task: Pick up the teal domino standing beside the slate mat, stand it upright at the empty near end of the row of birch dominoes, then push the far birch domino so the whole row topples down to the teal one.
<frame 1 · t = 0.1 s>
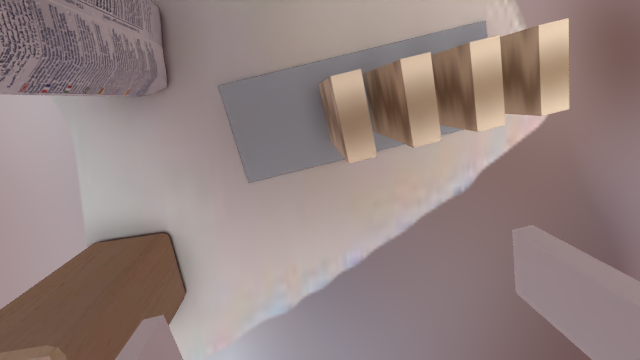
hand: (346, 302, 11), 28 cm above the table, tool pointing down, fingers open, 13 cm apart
wooden block: (143, 268, 40), on the table
tile 3: (378, 101, 36), resting on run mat
tile 4: (334, 111, 36), resting on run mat
juice carton: (132, 48, 34), on the table
tile 2: (422, 90, 37), resting on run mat
tile 1: (466, 79, 37), resting on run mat
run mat: (361, 104, 37), on the table
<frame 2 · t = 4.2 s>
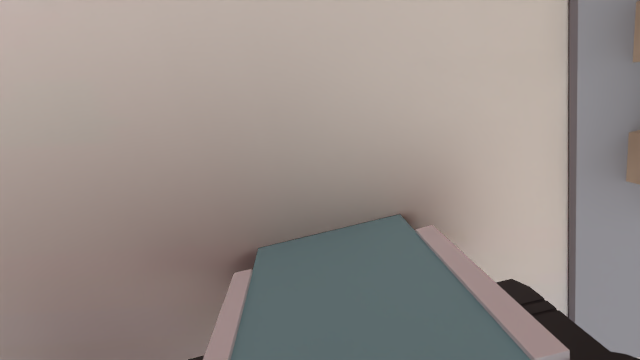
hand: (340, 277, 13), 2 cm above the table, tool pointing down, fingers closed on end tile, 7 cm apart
end tile: (334, 252, 15), on the table, touching gripper
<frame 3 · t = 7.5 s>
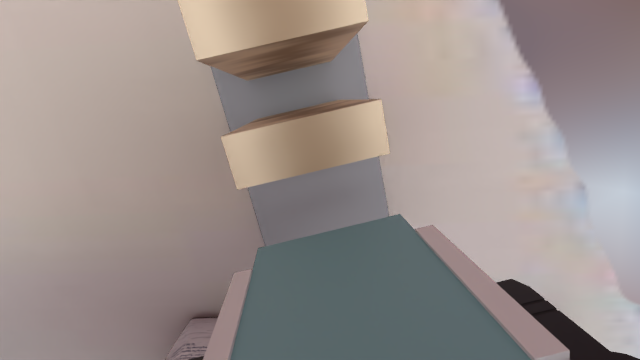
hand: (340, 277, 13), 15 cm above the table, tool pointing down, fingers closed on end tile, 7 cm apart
end tile: (334, 252, 15), point 13 cm above the table, touching gripper
tile 3: (285, 55, 24), resting on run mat
tile 4: (301, 123, 26), resting on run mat
juice carton: (236, 342, 31), on the table
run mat: (291, 81, 25), on the table
when the fingers open (3 cm above the table, at t = 10.8 s): end tile stays where it is, resting on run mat.
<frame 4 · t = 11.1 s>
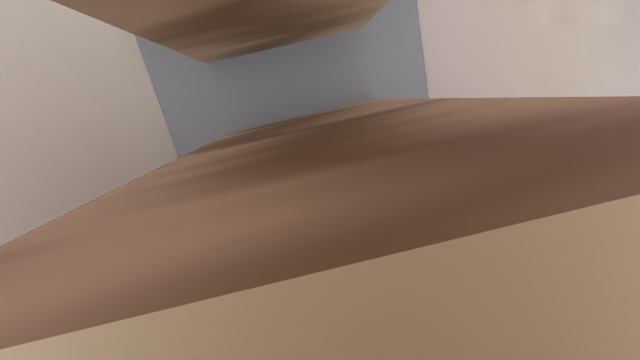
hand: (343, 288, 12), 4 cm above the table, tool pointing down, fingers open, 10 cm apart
tile 3: (278, 15, 13), resting on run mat
tile 4: (307, 141, 14), resting on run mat
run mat: (289, 65, 14), on the table
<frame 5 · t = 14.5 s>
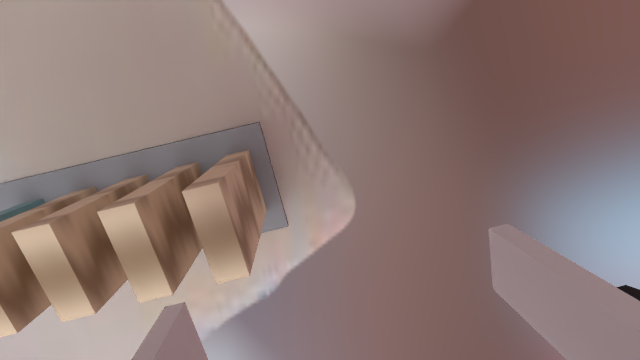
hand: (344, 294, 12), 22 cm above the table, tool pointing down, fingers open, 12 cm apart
end tile: (47, 231, 32), resting on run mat
tile 3: (147, 207, 32), resting on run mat
tile 4: (97, 219, 32), resting on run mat
tile 2: (197, 195, 33), resting on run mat
tile 1: (247, 183, 33), resting on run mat
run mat: (131, 210, 33), on the table
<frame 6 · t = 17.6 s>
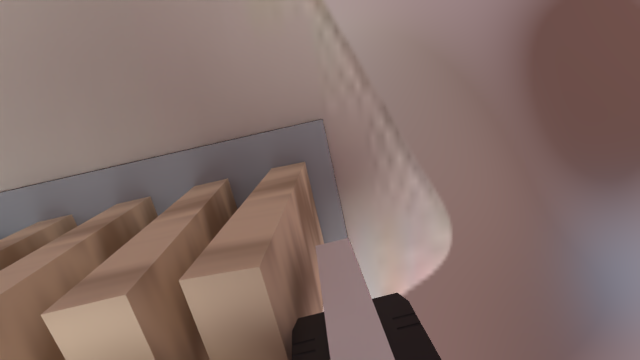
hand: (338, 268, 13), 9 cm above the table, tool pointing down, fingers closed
tile 3: (151, 244, 22), resting on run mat
tile 4: (76, 262, 22), resting on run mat
tile 2: (225, 227, 22), resting on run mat
tile 1: (299, 211, 22), point 1 cm above the table, tilted 7°, touching gripper, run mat
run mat: (127, 248, 22), on the table
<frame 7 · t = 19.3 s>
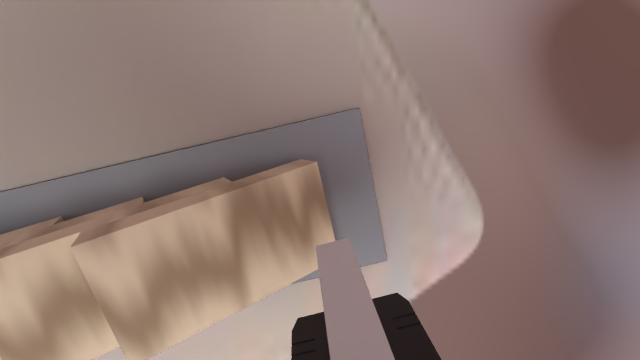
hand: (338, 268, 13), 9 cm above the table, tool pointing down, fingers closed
tile 3: (161, 246, 21), point 1 cm above the table, tilted 64°, touching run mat, tile 2, tile 4
tile 4: (80, 266, 21), point 2 cm above the table, tilted 64°, touching end tile, tile 3
tile 2: (242, 226, 21), point 1 cm above the table, tilted 64°, touching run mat, tile 1, tile 3
tile 1: (319, 208, 21), point 2 cm above the table, tilted 64°, touching tile 2
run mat: (163, 238, 22), on the table
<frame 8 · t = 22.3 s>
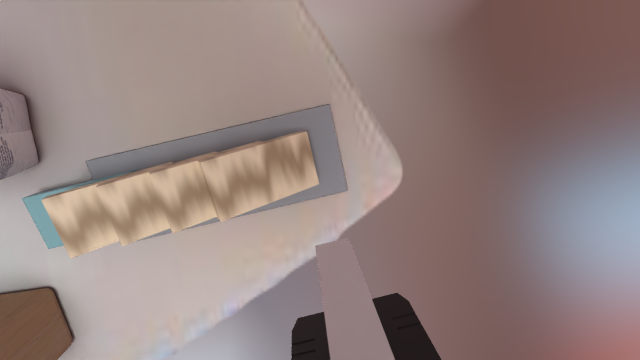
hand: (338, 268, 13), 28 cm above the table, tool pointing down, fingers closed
end tile: (142, 197, 39), point 2 cm above the table, tilted 90°, touching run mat, tile 4
wooden block: (32, 317, 44), on the table
tile 3: (224, 177, 39), point 1 cm above the table, tilted 64°, touching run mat, tile 2, tile 4
tile 4: (181, 188, 39), point 2 cm above the table, tilted 64°, touching end tile, tile 3
juice carton: (4, 129, 37), on the table
tile 2: (267, 167, 39), point 1 cm above the table, tilted 64°, touching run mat, tile 1, tile 3
tile 1: (308, 157, 39), point 2 cm above the table, tilted 64°, touching tile 2
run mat: (223, 175, 41), on the table
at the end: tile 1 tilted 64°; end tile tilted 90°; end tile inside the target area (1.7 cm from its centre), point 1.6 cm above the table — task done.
